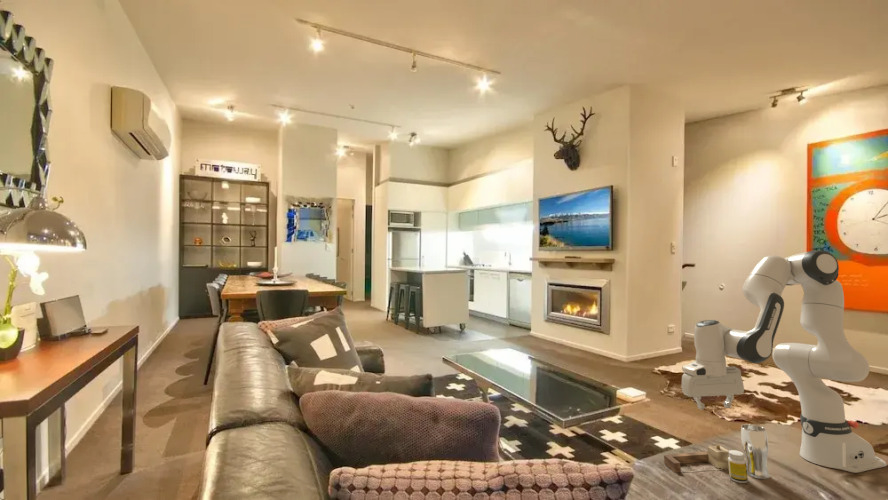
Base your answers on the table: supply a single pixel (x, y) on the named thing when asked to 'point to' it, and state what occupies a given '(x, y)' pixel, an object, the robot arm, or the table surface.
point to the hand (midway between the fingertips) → (714, 407)
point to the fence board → (685, 460)
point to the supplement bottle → (737, 466)
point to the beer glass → (755, 450)
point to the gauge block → (718, 456)
